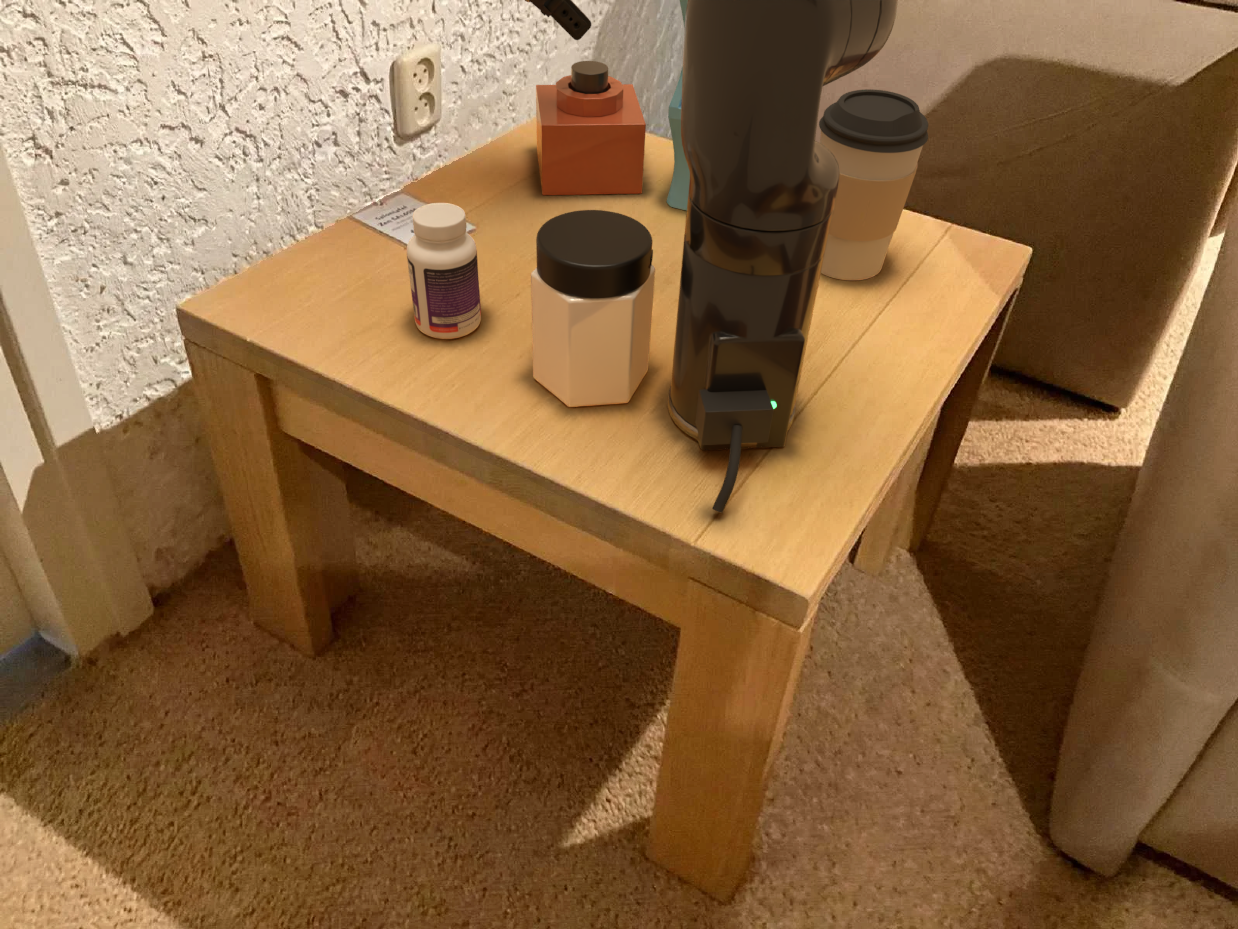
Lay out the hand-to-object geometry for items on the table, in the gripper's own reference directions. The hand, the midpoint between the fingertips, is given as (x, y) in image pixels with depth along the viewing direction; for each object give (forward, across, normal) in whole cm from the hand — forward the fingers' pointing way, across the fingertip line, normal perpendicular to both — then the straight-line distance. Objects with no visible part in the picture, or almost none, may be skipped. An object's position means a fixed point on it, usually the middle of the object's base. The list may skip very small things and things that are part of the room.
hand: (583, 30), depth 94 cm
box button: (+4, 0, +3) cm, 6 cm away
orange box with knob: (+11, 0, +10) cm, 14 cm away
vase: (+18, -8, +2) cm, 20 cm away
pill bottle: (-2, -24, +23) cm, 33 cm away
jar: (+4, -34, +16) cm, 38 cm away
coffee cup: (+24, -22, -3) cm, 33 cm away
